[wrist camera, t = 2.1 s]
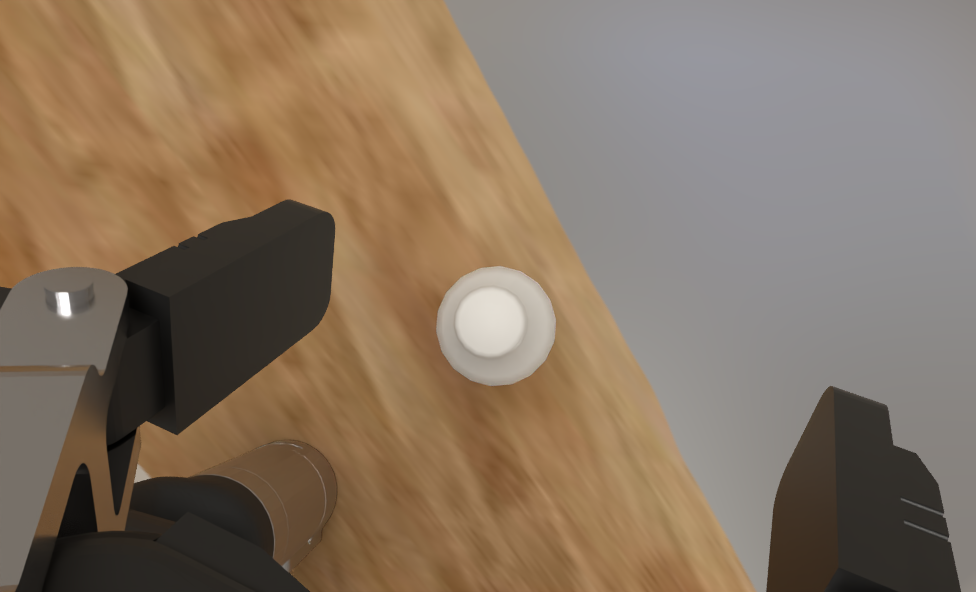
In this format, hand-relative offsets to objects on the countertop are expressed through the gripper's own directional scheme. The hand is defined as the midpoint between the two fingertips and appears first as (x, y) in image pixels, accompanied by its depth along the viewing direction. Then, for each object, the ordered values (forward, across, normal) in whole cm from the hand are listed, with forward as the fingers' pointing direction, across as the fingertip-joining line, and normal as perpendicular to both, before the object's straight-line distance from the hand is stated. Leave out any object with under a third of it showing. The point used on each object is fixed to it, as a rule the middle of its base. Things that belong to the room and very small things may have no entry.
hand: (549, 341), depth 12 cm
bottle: (+45, -13, -30) cm, 56 cm away
